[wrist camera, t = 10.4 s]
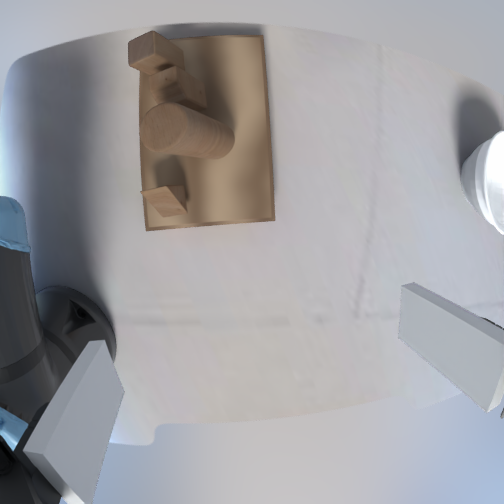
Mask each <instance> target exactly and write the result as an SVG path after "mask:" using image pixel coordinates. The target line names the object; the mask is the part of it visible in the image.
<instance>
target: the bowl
mask: <svg viewBox="0 0 504 504" xmlns="http://www.w3.org/2000/svg"><path fill="white" fill-rule="evenodd" d="M461 187H462V191H463V194H464V197H465V199H466V200H467V201H468V203H469V204H471V205H472V206H473V207H474V209H475V210H476V212H477V213H478V214H479V215H480V216H481V217H482V218H483V219H484V220H486V221H488V222H489V223H491V224H492V225H494V226H495V227H496V229H497V230H498V231H499V232H500V233H502V234H503V235H504V130H503V131H499V132H497V133H496V134H495V135H494V136H493V137H492V139H489V140H487V141H485V142H483V143H482V144H480V145H479V146H478V147H477V148H476V149H475V150H474V151H473V153H472V154H471V156H469V157H468V158H467V159H466V160H465V161H464V163H463V166H462V169H461Z"/></svg>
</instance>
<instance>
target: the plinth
mask: <svg viewBox="0 0 504 504" xmlns="http://www.w3.org/2000/svg"><path fill="white" fill-rule="evenodd" d="M169 41H170V42H172V43H173V44H175V45H176V46H178V47H179V48H181V49H182V50H183V53H184V64H185V72H187V73H189V74H190V75H192V76H193V77H195V78H197V79H198V80H200V81H201V82H203V83H204V85H205V93H206V101H207V108H206V109H203V110H200V111H197V112H199V113H201V114H204V115H206V116H208V117H210V118H213V119H215V120H217V121H219V122H221V123H224V124H225V125H227V126H229V127H230V128H231V129H232V130H233V132H234V135H235V143H234V146H233V148H232V150H231V151H230V152H229V153H228V154H227V155H226V156H224V157H222V158H220V159H214V160H210V159H204V158H197V157H190V156H182V155H175V154H166V153H158V152H154V151H151V150H149V149H148V148H146V147H145V146H144V144H143V143H142V141H141V138H140V159H141V178H142V191H144V190H148V189H152V188H156V187H161V186H165V185H184V191H185V198H186V204H187V211H188V214H182V215H176V216H170V217H164V218H163V217H162V216H161V215H160V214H159V212H158V211H157V210H156V209H155V208H154V207H153V206H152V205H151V204H150V202H149V201H148V200H147V199H146V198H145V197H144V196H143V205H144V217H145V227H146V231H154V230H165V229H176V228H187V227H199V226H212V225H224V224H238V223H252V222H266V221H275V205H274V185H273V167H272V150H271V133H270V118H269V103H268V89H267V76H266V63H265V51H264V39H263V35H220V36H202V37H189V38H179V39H170V40H169ZM149 76H150V75H148V74H146V73H144V72H142V71H140V86H139V129H140V125H141V122H142V119H143V118H144V116H145V115H146V113H147V112H148V111H149V110H150V109H151V108H152V107H154V106H156V105H158V104H157V103H156V101H155V99H154V97H153V96H152V94H151V92H150V90H149V83H148V77H149Z"/></svg>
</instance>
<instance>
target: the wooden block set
mask: <svg viewBox="0 0 504 504" xmlns="http://www.w3.org/2000/svg"><path fill="white" fill-rule="evenodd" d="M128 63H129V66H130V67H133V68H135V69H137V70H139V71H142V72H144V73H146V74H148V75H150V76H149V77H148V83H149V90H150V92H151V94H152V96H153V97H154V99H155V101H156V103H157V104H158V105H156V106H154V107H152V108H151V109H150V110H149V111H148V112H147V113H146V115H145V116H144V118H143V119H142V122H141V125H140V132H139V134H140V138H141V141H142V143H143V144H144V146H145V147H146V148H148V149H149V150H151V151H154V152H158V153H166V154H175V155H182V156H190V157H197V158H204V159H210V160H214V159H220V158H222V157H224V156H226V155H227V154H228V153H229V152H230V151H231V150H232V148H233V146H234V143H235V135H234V132H233V130H232V129H231V128H230V127H229V126H227V125H225V124H224V123H221V122H219V121H217V120H215V119H213V118H210V117H208V116H206V115H204V114H201V113H199V112H197V111H200V110H203V109H206V108H207V101H206V93H205V85H204V83H203V82H201V81H200V80H198V79H197V78H195V77H193V76H192V75H190V74H189V73H187V72H185V64H184V53H183V50H182V49H181V48H179V47H178V46H176V45H175V44H173V43H172V42H170V41H169V40H167V39H166V38H164V37H163V36H161V35H160V34H158V33H157V32H155V31H150V32H148V33H145V34H143V35H141V36H139V37H137V38H135V39H133V40H131V41H130V42H129V43H128ZM141 193H142V195H143V196H144V197H145V198H146V199H147V200H148V201H149V202H150V204H151V205H152V206H153V207H154V208H155V209H156V210H157V211H158V212H159V214H160V215H161V216H162V217H163V218H164V217H170V216H176V215H182V214H188V211H187V204H186V198H185V191H184V185H165V186H161V187H156V188H152V189H148V190H144V191H141Z"/></svg>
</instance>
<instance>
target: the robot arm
mask: <svg viewBox="0 0 504 504" xmlns="http://www.w3.org/2000/svg"><path fill="white" fill-rule="evenodd" d="M29 252H31V248H30V246H29V245H28V239H27V231H26V223H25V214H24V211H23V208H22V206H21V205H20V204H19V202H17V201H16V200H15V199H13V198H10V197H5V196H0V504H59V502H60V499H61V497H63V499H64V500H65V501H66V502H67V503H68V504H92V502H93V498H94V494H95V490H96V486H97V482H98V478H99V475H100V471H101V467H102V464H103V460H104V457H105V453H106V449H107V446H108V443H109V440H110V436H111V433H112V430H113V426H114V423H115V420H116V417H117V414H118V411H119V408H120V404H121V401H122V398H123V395H124V392H125V391H124V389H123V387H122V384H121V382H120V379H119V377H118V374H117V372H116V369H115V367H114V364H113V363H114V360H115V356H116V341H115V337H114V333H113V330H112V328H111V326H110V324H109V322H108V320H107V318H106V317H105V315H104V314H103V312H102V311H101V310H100V309H99V308H98V307H97V305H96V304H95V303H93V302H92V301H91V300H90V299H89V298H87V297H86V296H85V295H83V294H81V293H80V292H78V291H75V290H73V289H70V288H66V287H60V286H55V287H49V288H46V289H43V290H42V291H40V292H39V293H37V294H36V295H35V290H34V285H33V278H32V272H31V264H30V254H29ZM398 338H399V339H400V340H401V341H403V342H404V343H405V344H406V345H407V346H409V347H410V348H411V349H412V350H413V351H415V352H416V353H417V354H418V355H419V356H421V357H422V358H423V359H424V360H425V361H427V362H428V363H429V364H430V365H431V366H432V367H434V368H435V369H436V370H437V371H438V372H440V373H441V374H442V375H443V376H444V377H445V378H447V379H448V380H449V381H450V382H451V383H452V384H454V385H455V386H456V387H457V388H458V389H459V390H461V391H462V392H463V393H464V394H465V395H466V396H468V397H469V398H470V399H471V400H472V401H473V402H474V403H476V404H477V405H478V406H479V407H480V408H481V409H483V410H484V411H485V412H486V413H488V412H489V411H491V410H492V409H493V408H495V407H496V406H498V405H499V404H500V401H501V399H502V396H503V394H504V328H503V329H502V327H501V326H499V325H495V323H493V322H492V321H490V320H488V319H486V318H482V317H479V316H477V315H475V314H474V313H472V312H470V311H468V310H466V309H464V308H462V307H460V306H459V305H457V304H455V303H453V302H451V301H449V300H447V299H445V298H443V297H441V296H440V295H438V294H436V293H434V292H432V291H430V290H428V289H426V288H424V287H422V286H420V285H418V284H416V283H414V282H413V283H410V284H406V285H402V286H401V305H400V322H399V335H398ZM503 417H504V409H503V411H502V413H501V418H503Z"/></svg>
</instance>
